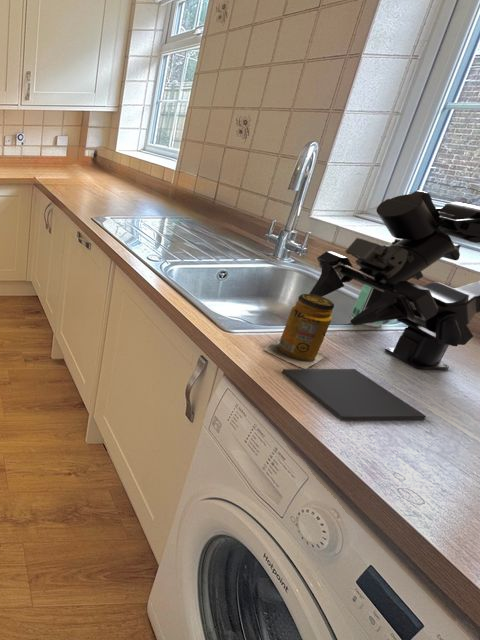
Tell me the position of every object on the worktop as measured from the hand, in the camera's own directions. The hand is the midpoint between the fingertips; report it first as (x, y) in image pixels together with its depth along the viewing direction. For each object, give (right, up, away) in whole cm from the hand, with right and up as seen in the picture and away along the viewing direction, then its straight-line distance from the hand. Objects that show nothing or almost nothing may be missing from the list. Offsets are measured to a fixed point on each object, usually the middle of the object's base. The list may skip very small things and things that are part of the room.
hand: (328, 310), depth 76 cm
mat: (-3, -13, -7) cm, 15 cm away
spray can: (+25, -5, +18) cm, 31 cm away
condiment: (-3, -9, +4) cm, 11 cm away
